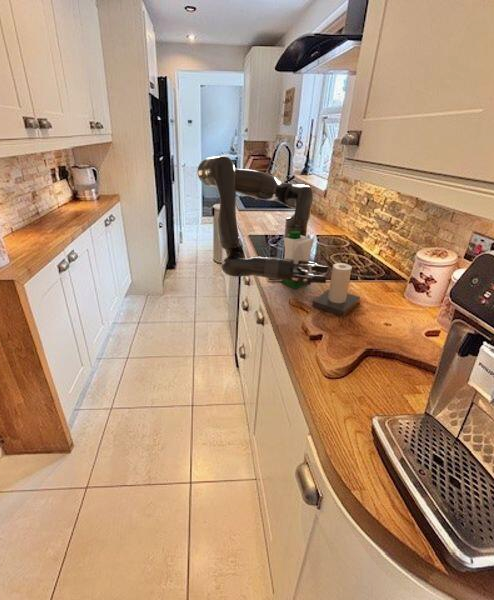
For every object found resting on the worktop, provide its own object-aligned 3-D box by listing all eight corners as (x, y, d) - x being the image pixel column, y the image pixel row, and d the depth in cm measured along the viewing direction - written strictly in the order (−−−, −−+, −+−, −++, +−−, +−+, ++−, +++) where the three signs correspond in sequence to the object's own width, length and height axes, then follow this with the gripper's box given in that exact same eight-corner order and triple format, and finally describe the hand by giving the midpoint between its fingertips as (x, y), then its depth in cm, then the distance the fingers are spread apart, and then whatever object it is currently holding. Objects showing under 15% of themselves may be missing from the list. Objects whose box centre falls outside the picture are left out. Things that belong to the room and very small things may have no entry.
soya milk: (293, 276, 132) (298, 228, 123) (311, 284, 126) (317, 233, 116) (278, 282, 128) (281, 232, 118) (295, 290, 121) (300, 238, 112)
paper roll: (332, 293, 114) (337, 261, 108) (348, 298, 111) (354, 265, 105) (324, 299, 110) (329, 266, 105) (341, 305, 107) (347, 271, 101)
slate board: (329, 292, 119) (330, 287, 118) (359, 302, 113) (360, 296, 112) (312, 306, 111) (312, 300, 110) (343, 317, 104) (344, 311, 103)
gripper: (275, 266, 105) (327, 272, 100) (283, 251, 117) (329, 256, 112) (273, 287, 109) (323, 293, 104) (281, 270, 121) (327, 276, 116)
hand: (326, 274), depth 108 cm, fingers open, 8 cm apart
